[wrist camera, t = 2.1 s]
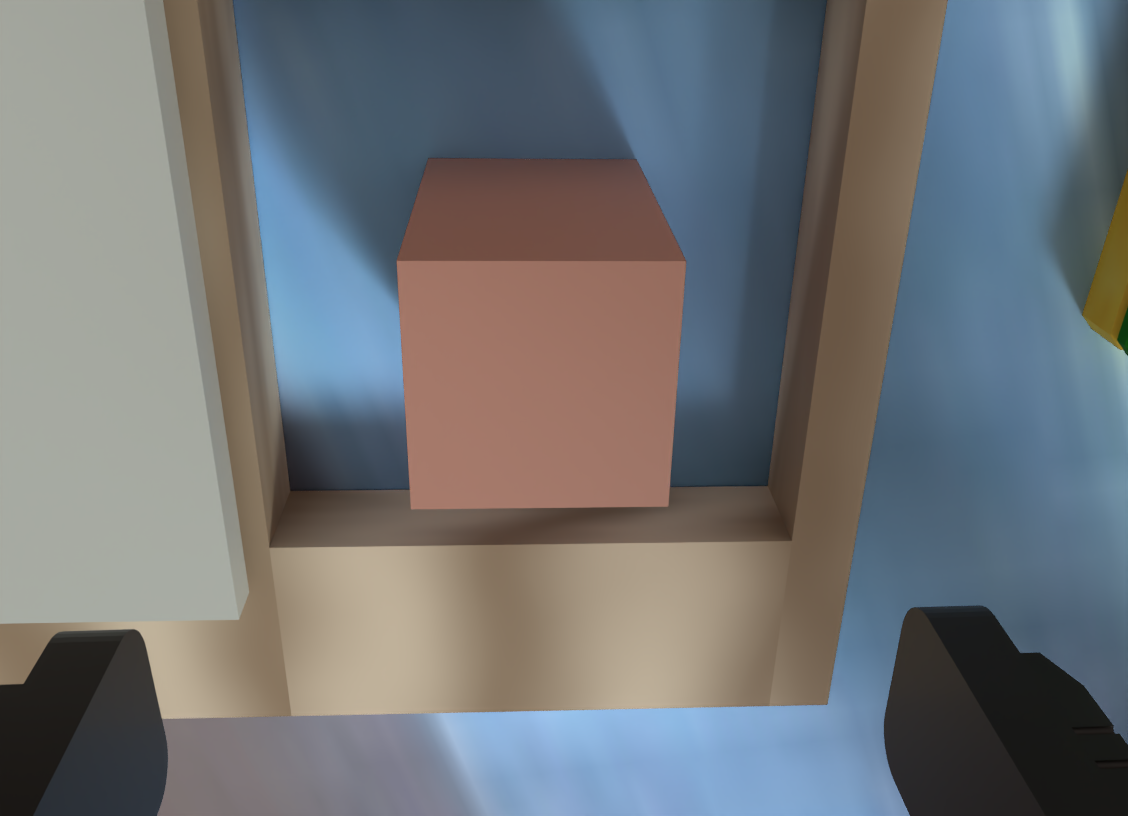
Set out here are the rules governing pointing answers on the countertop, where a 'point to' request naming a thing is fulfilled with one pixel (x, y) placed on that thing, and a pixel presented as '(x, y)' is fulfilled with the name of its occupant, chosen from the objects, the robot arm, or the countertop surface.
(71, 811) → the robot arm
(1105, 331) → the dish sponge
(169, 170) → the cover
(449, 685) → the board
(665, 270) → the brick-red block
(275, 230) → the countertop surface
